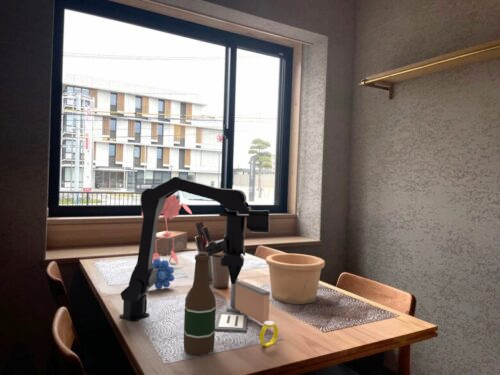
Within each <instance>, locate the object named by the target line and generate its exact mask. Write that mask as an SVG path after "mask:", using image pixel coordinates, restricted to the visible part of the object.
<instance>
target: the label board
mask: <svg viewBox="0 0 500 375" xmlns="http://www.w3.org/2000/svg"><path fill="white" fill-rule="evenodd" d="M225 308H226V309H225V310H226V311H219V312H218V315H217V318H216V320H215V332H233V333H234V332H236V333H238V332H240V333H246V332H247V323H248V322H247V321H248V315H246V314H244V313H242V312H240V311H238V310H236V309H235V308H234V307H230V304H229V305H226V307H225Z"/></svg>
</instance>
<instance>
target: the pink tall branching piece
mask: <svg viewBox="0 0 500 375" xmlns="http://www.w3.org/2000/svg"><path fill="white" fill-rule="evenodd" d="M180 203H181V204H180ZM182 207H183V209H184V210H185V212H187V213H188V214H190V215H193V213H192V210H191V209H190V208H189V206H188V205H186V204H185V203H183V202H181V199H179V198H178V199H177V195H176V193H174V194H173V195H172V196H170V197H168V198H167V199H166V201H165V204H164V207H163V210H162V212H161V214H160V215H162V216H159V218H158V220H160V219H162V218H163V219H164V221H165V225H166V226H165V227H166V231H167V232H166V233H165V234H164V237H166V238H168V237H169V236H170V233H168V231H169V228H168V223H167V219H168V218H169V220H172V219H175V218H176V217H178V216H179V214H180V213H179V211H181V208H182ZM141 217H142V218H143V213H142V212H141ZM170 237H171V236H170ZM161 238H163V237H161ZM161 238H159V239H161ZM171 238H172V237H171ZM159 239H157V240H159ZM172 239H173V238H172ZM157 240H156V241H157ZM156 241H155V246H156ZM173 251H174V239H173ZM173 251H171V254H170V257H169V261H168V263H171V260H172V259H173V261H174V262H175V263H176V264H178V263H179V260H178V256H177V254H176V252H175V253H174V252H173ZM156 258H158V259H160V260H161V255H159V254H158V253H157V250H156V253H154V254H153V260H152V262H153V261H154V259H156ZM182 267H183V266H182ZM182 267H178V269H182ZM176 269H177V267H176V268H175V270H176Z"/></svg>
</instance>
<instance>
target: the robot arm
mask: <svg viewBox="0 0 500 375" xmlns="http://www.w3.org/2000/svg"><path fill="white" fill-rule="evenodd" d="M177 192H183V193H187V194H191V195H194V196H198V197H201V198H204V199H209V200H212V201H213V202H214V201H215V202H216V203H218V204H220V205H222V206H224V207H225V208H224V209H223V210H222V211H221V212H220V213H219V216H220V217H225V230H224V232H225V233H224V236H223V238H222V239H219V240H216V241H215V240H212V241H209V242H208V243H207V244H206V245H205V246H204V247H205V252H206V254H207V255H209V257H212V256H213V255H217V254H219V253H222V254H223V255H222V256H221V259H220V266H221V267H227V268H228V275H229V279H230V285H231V284H235V282H236V280H237V278H238V277H239V275H240V272H241V270H242V268H243V267H244V263H245V257H244V256H246V247H245V237H246V236H245V235H246V234H245V228H246V229H247V230H248V231H249V232H250V233H251V234H252V233H255V234H270V223H271V222H270V210H267V209H264V210H258V209H257V210H253V209H252V207H251V206H250V205H249V203H248V202H247V195H246V193H245V192H244V191H243V190H241V189H233V188H220V187H215V186H212V185H208V184H205V183H201V182H197V181H193V180H189V179H186V178H183V177H181V176H173V177H172V178H170V179H169V180H167V181H166V182H163V183H161V184H159V185H156V186H155V187H151V188H149V187H148V188H146V189H145V190H143V191H142V192H141V194H140V208H141V214H142V213H143V217H142V224H141V232H140V239H139V246H138V254H137V260H136V263H135V266H134V268H133V271H132V273H131V276H130V279H129V282H128V286H127V287H126V288H124V289H123V290H122V291H121V292H120V297H121V300H122V301H123V305H122V306H123V308H122V309H123V310H122V313H121V314H119V316H118V317H119V318H122V319H125V320H128V321H132V322H135V321H139V320H141V319H143V318H146V317H148V316H150V313H149V312H147V309H148V308H147V306H148V305H147V304H148V299H147V293H148V291H149V290H150V289H151V288H152V287H153V286H154V285H155V284H154V283H155V282H156V281H157V279H156V274H157V271H158V269H154V268H153V264H152V263H153V261H152V260H153V255H154V254H153V253H154V246H155V239H156V233H158V232H157V229H158V225H159V224H158V223H159V219H158V218H160V217H161V216H160V215H162V214H161V212H162V210H163V207H164V204H165V201H166V199H167V198H168V197H170V196H173V195H174V194H176V193H177ZM229 209H231V210H229ZM239 212H240V213H239ZM245 223H246V224H245ZM238 279H239V278H238ZM153 284H154V285H153Z"/></svg>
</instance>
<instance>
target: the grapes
mask: <svg viewBox="0 0 500 375" xmlns="http://www.w3.org/2000/svg"><path fill="white" fill-rule="evenodd" d="M152 264H153V268H154V269H158V271H157V274H156V279H157V281H156V282H155V283H154V284H153V286H154V288H156V289H157V290H161V289H163V287H164V288H166V289H167V288H169V287H170V286H171V283H172V282H173V281H175V275H174V274H173V273H174V272H175V268H174V267H173V266H172V265H170V262H169V261H168V260H167V259H163V260H161V258H160V259H158V258H156V259H154V261H152ZM170 282H171V283H170Z"/></svg>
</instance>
